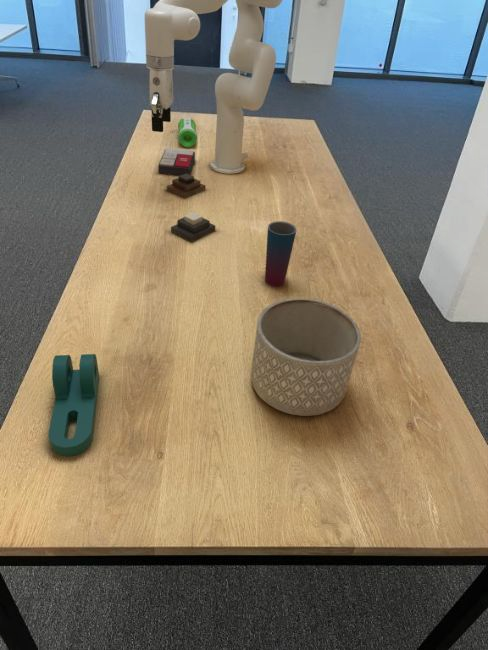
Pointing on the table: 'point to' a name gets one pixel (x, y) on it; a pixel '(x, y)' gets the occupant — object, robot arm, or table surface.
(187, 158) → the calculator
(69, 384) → the bracket
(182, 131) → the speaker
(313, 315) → the planter
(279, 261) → the cup
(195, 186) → the walnut key block
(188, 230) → the block
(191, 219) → the ivory key
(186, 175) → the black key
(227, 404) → the table surface
